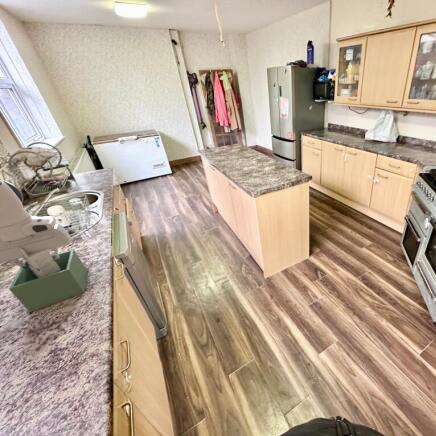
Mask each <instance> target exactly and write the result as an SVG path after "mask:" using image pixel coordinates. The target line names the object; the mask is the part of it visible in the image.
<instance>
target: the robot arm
mask: <svg viewBox="0 0 436 436" xmlns="http://www.w3.org/2000/svg"><path fill="white" fill-rule="evenodd" d="M23 203H24V195H23V192H22V190H20V189H19V187H17V186H16V185H15V184H13V183H11V182H8V181H5V180H2V179H0V265H1V264H4V263H8V262H9V264H10V265H14V266H16V267H19V269H20V268H21V269H22V270H23V269H26V268H28V267H29V264H27V262H25V261H21V260H19V259H21V258H22V257H25V256H24V255H23V253H22V251H20V249H19V248H21V249H23V250H24V251H25V252H26V254H27V255H28V254H31V253H34V252H38V251H41V250H45V249H47V250H48V251H50V250H51V252H54V253H51V254H50V255H51V256H52V258H53V259H54V260H56V259H59V257H60V256H59V255H58V254H59V253H58V252H59V248H60V247H63V246H67V245H69V244H70V243H71V240H72V237H71V235H70V233H69V232H68V230H66V228H65V227H64V226H63V225H62V224H60V223H56V222H57V220H56V218H55V217H53V216H31V214H30V213H29V212H28V211H26V210H25V208H24V206H23ZM22 259H23V258H22Z"/></svg>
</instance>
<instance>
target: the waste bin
mask: <svg viewBox="0 0 436 436" xmlns="http://www.w3.org/2000/svg"><path fill="white" fill-rule="evenodd" d="M58 255H59V256H60V257H59V259H56V260H55V262H56V263H57V265H58V266H59V267H60V269H61V270H62V271H60V272H56V273H53V274H50V275H47V276H44V277H41V278H38V277H37V276H36V275H35V273H34V272H33V271H32V270H31V268H30V267H28V268H26V269H23V270H22V269H21V268H20V267H19V270H18V272H17V273H16V275H15V277H14V279H13V281H12V283H11V285H10V287H9V291H10V292H11V293H12V294H13V296H15V298H16V299H17V300H18V301H19V302H20V303H21V304H22V305H23V306H24V308H25V309H26V310H27V311H28V312H29V313H32V312H35V311H37V310H40V309H42V308H45V307H48V306H51V305H53V304H57V303H59V302H62V301H64V300H67V299H70V298H72V297H75V296H77V295H81V294H83V293H85V288H86V283H87V282H86V281H87V275H88V269H87V268H86V266H85V265H84V263H83V261H82V260H81V257H80V256H79V255H78V253H77V252H76V250H75V249H74V248H73V249H70V250H66V251H63V252H60V253H58Z"/></svg>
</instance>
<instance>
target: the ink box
mask: <svg viewBox="0 0 436 436" xmlns="http://www.w3.org/2000/svg"><path fill="white" fill-rule="evenodd" d="M19 249H20V251H22V253H23V255H24V256H25V257H22V260H23V262H27V264H29V267H30V268H31V270H32V271H33V272H34V273H35V275H36V276H37V277H38V278H41V277H44V276H47V275H50V274H53V273H56V272H60V271H62V270H61V269H60V267H59V266H58V265H57V263H56V262H55V260H54V259H53V258H52V256H51V255H52V254H51V253H50V252H49V250H47V249H45V250H41V251H38V252H34V253H31V254H28V255H27V254H26V252H25V251H24V250H23V249H21V248H19Z"/></svg>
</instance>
